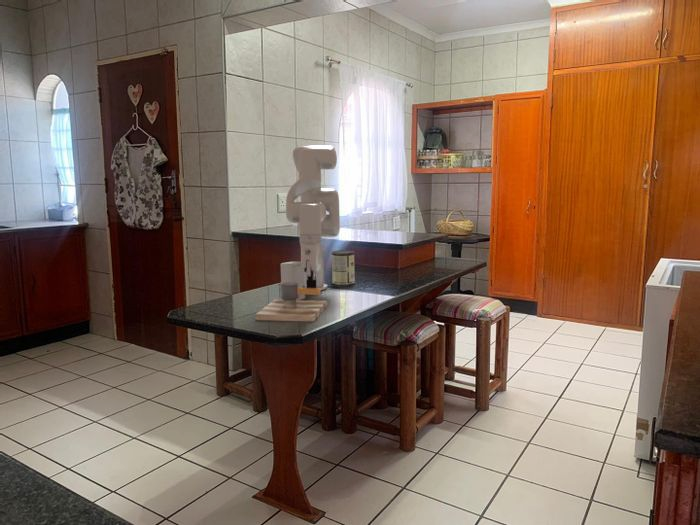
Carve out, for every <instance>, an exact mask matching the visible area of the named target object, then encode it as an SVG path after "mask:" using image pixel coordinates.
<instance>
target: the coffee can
mask: <svg viewBox="0 0 700 525" xmlns="http://www.w3.org/2000/svg"><path fill="white" fill-rule="evenodd" d="M331 270H332V271H331V272H332V273H331V275H332V277H331V278H332V284H333V285H339V286H340V285H341V286H342V285H343V286H344V285H347V286H348V285H353V284H355V283H356V282H355V277H356V275H355V251H354V250H348V249H344V250H343V249H342V250H341V249H340V250H334V251H331Z"/></svg>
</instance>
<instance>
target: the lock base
mask: <svg viewBox="0 0 700 525" xmlns="http://www.w3.org/2000/svg"><path fill="white" fill-rule="evenodd" d="M327 306H328V303H327V300H314V299H313V300H307V299H306V300H305V299H301V300H296V299H294V300H282V299H273V300H272V301H271V302H269V303H268V304H267V305H266V306H264V307H263V308H262V309H261V310H259V311H257V312H256V314H255V320H256V321H275V322H276V321H277V322H279V321H280V322H281V321H283V322H286V321H287V322H313V323H314V322H315V321H316V320H317V319H318V317H319V316H320V315H321V314H322V312H323V311H324V310H325V309H326V307H327Z"/></svg>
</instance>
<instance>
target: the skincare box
mask: <svg viewBox="0 0 700 525" xmlns="http://www.w3.org/2000/svg"><path fill="white" fill-rule="evenodd" d="M288 282H294V283H298V287H301V288H305V283H304V271H303V262H301V261H287V262H282V263H280V283H281V284H282V283H288ZM281 284H280V285H281ZM305 299H306V294H298V299H296V300H305ZM281 300H284V299H281Z"/></svg>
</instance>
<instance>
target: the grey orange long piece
mask: <svg viewBox="0 0 700 525" xmlns="http://www.w3.org/2000/svg"><path fill="white" fill-rule="evenodd" d="M321 292H322V290H321V288H301V287H298V283H294V282H288V283H282V284H280V296H281V297H280V300H282V299H284V300H294V299H298V294H305V295H313V296H317V295H318V296H320V295H321V294H322V293H321Z"/></svg>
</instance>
